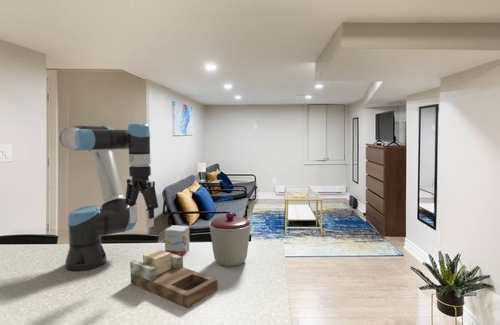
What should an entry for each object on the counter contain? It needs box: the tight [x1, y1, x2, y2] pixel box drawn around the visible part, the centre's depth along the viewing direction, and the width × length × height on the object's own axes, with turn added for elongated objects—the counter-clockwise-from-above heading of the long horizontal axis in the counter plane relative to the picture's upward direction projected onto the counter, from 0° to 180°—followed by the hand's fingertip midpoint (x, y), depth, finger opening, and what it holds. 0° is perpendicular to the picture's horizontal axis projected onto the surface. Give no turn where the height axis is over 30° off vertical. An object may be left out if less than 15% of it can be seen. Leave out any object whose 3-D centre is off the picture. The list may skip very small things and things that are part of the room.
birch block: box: [142, 248, 171, 275], centre depth 114 cm, size 7×7×6 cm
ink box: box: [164, 224, 190, 258], centre depth 141 cm, size 9×9×12 cm
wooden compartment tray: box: [129, 253, 219, 310], centre depth 109 cm, size 29×14×8 cm, turn 55°
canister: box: [208, 212, 253, 267], centre depth 131 cm, size 18×18×21 cm
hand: (141, 224), depth 118 cm, fingers open, 9 cm apart
